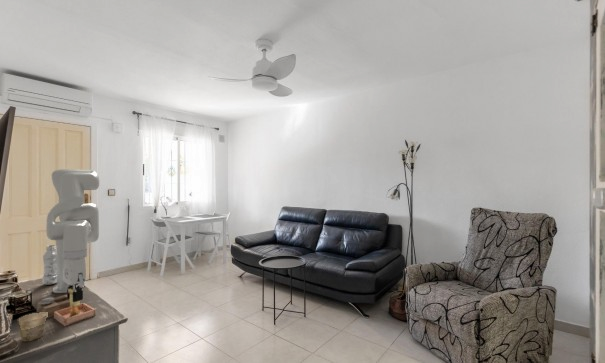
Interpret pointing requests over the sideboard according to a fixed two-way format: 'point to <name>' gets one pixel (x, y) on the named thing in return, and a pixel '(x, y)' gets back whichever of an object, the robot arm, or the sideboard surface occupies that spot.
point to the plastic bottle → (50, 265)
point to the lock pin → (73, 304)
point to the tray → (85, 313)
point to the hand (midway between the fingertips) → (74, 298)
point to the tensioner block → (53, 304)
